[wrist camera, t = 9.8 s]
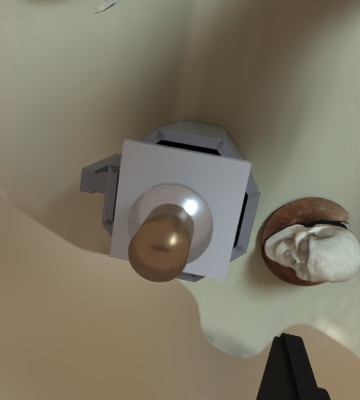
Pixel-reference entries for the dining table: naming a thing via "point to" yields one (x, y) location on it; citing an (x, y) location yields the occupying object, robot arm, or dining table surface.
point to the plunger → (169, 227)
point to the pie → (104, 5)
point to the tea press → (187, 175)
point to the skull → (311, 243)
